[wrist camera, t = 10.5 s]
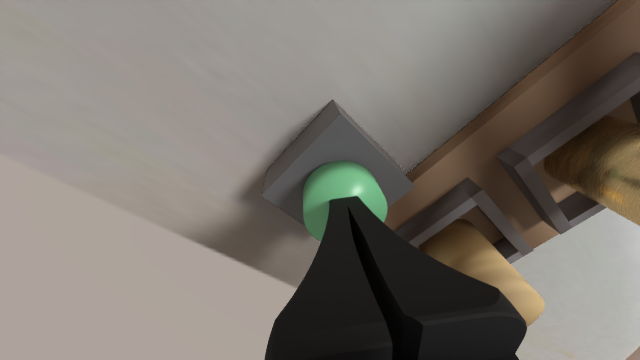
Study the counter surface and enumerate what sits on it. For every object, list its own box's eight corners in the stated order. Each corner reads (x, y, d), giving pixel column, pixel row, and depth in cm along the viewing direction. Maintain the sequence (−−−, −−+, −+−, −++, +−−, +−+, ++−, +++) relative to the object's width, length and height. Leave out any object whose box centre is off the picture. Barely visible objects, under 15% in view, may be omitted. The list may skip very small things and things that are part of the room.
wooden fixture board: (622, -4, 13) (924, -41, 7) (665, 153, 18) (857, 214, 12) (340, 229, 19) (360, 319, 13) (432, 295, 24) (478, 382, 18)
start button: (341, 144, 12) (347, 161, 10) (391, 191, 13) (404, 211, 12) (287, 197, 13) (285, 218, 12) (339, 233, 15) (344, 257, 13)
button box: (332, 99, 14) (340, 113, 11) (396, 162, 16) (415, 186, 14) (267, 170, 16) (261, 196, 13) (332, 217, 18) (338, 247, 16)
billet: (614, 99, 14) (795, 134, 9) (620, 153, 16) (772, 208, 11) (536, 144, 15) (658, 199, 10) (551, 190, 17) (659, 256, 12)
